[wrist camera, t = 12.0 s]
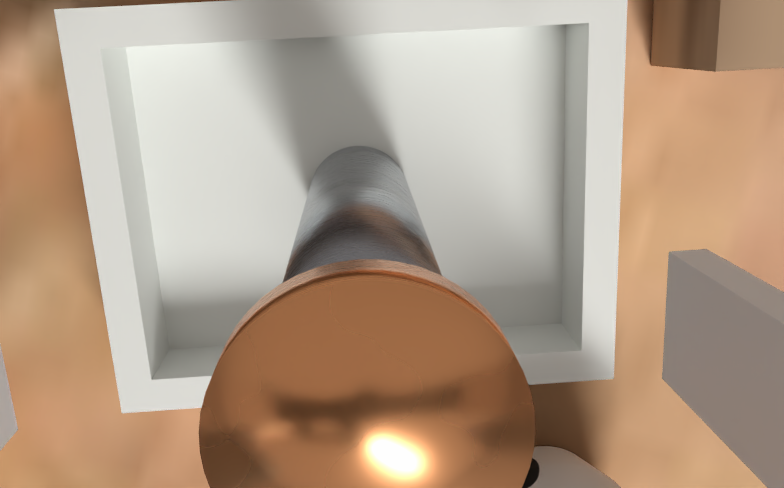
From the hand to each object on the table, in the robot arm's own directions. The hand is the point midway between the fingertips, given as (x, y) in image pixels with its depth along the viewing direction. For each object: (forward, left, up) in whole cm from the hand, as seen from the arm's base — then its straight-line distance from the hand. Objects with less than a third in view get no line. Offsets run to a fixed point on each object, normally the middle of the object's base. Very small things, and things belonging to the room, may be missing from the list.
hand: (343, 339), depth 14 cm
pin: (0, 0, -13) cm, 13 cm away
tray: (0, 0, -14) cm, 14 cm away
